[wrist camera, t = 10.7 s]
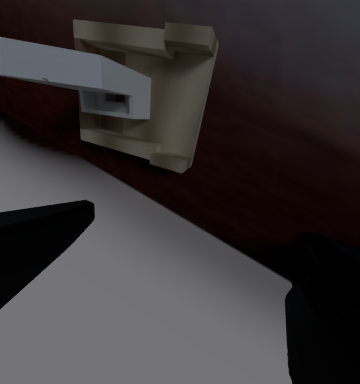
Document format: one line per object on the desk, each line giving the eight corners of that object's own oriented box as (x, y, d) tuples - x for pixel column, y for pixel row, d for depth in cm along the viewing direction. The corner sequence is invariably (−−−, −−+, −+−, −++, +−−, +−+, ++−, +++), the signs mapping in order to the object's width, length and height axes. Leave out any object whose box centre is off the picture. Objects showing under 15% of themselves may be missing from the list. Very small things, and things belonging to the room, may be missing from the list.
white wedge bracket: (46, 66, 17) (-34, 30, 9) (149, 82, 19) (155, 64, 11) (53, 107, 18) (-10, 106, 11) (148, 117, 21) (152, 123, 13)
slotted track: (218, 44, 15) (212, 25, 12) (191, 165, 20) (181, 174, 16) (102, 30, 17) (72, 11, 14) (103, 140, 22) (81, 144, 19)
